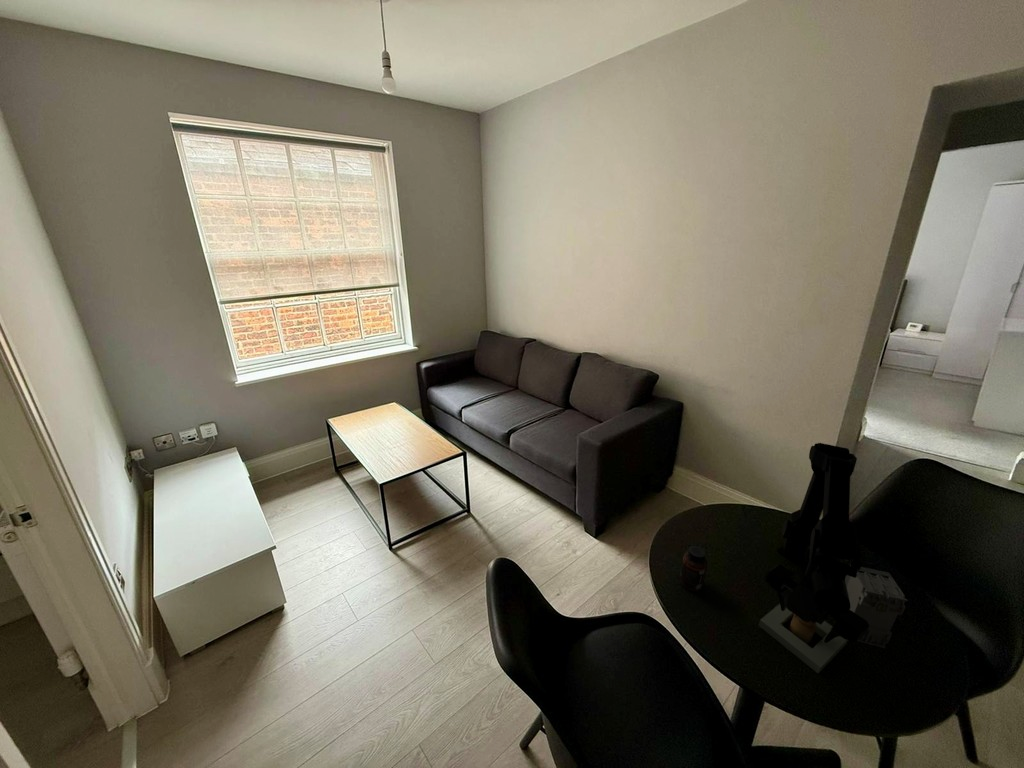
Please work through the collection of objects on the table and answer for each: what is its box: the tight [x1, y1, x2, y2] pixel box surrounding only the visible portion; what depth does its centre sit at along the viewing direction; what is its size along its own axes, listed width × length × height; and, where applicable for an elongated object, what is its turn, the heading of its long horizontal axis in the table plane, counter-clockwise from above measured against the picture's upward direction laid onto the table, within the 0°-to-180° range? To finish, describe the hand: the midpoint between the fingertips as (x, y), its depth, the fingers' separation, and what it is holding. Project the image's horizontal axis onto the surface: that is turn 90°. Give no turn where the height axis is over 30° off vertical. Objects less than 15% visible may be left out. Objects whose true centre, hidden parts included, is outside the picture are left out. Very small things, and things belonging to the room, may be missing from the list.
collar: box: [758, 603, 849, 674], centre depth 93 cm, size 13×13×2 cm
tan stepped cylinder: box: [788, 614, 817, 644], centre depth 93 cm, size 4×4×6 cm
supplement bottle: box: [679, 545, 709, 592], centre depth 105 cm, size 6×6×11 cm
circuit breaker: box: [845, 564, 908, 649], centre depth 95 cm, size 8×14×15 cm, turn 161°
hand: (803, 625), depth 93 cm, fingers open, 9 cm apart
